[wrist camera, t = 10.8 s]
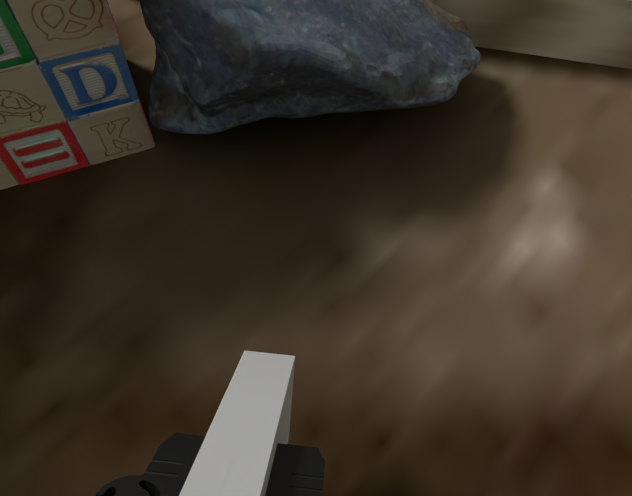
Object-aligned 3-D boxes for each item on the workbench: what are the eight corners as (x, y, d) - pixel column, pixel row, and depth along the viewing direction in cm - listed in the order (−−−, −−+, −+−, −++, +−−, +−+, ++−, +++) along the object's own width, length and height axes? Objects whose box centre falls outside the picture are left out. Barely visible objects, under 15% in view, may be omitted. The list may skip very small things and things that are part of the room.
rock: (144, 23, 30) (73, 141, 24) (172, -144, 25) (88, -47, 18) (406, 127, 34) (406, 256, 27) (486, 2, 28) (511, 128, 21)
